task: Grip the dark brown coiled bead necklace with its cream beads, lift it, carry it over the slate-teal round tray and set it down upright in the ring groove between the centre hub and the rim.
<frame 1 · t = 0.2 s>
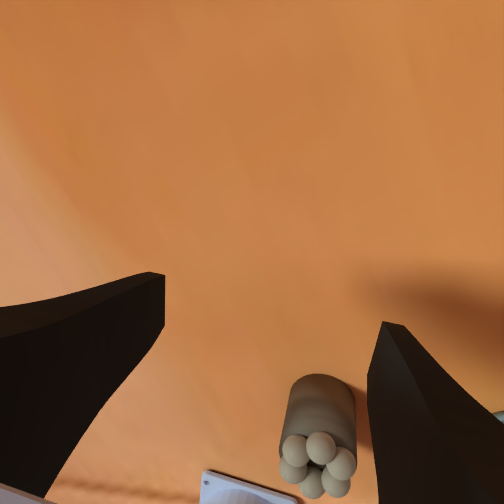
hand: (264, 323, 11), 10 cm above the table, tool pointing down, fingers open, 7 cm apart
bead necklace coil: (321, 400, 24), on the table
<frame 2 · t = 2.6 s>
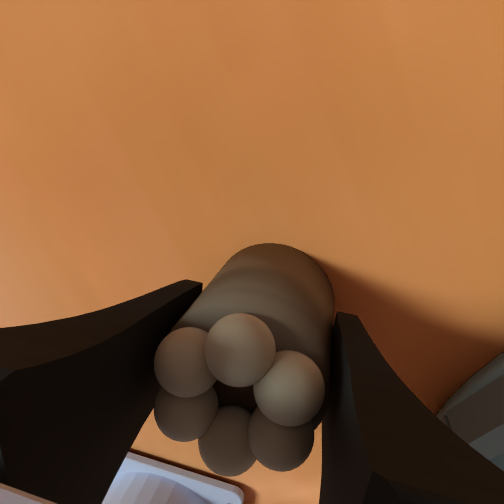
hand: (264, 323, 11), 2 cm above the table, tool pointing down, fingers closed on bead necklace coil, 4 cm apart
bead necklace coil: (273, 299, 13), on the table, touching gripper
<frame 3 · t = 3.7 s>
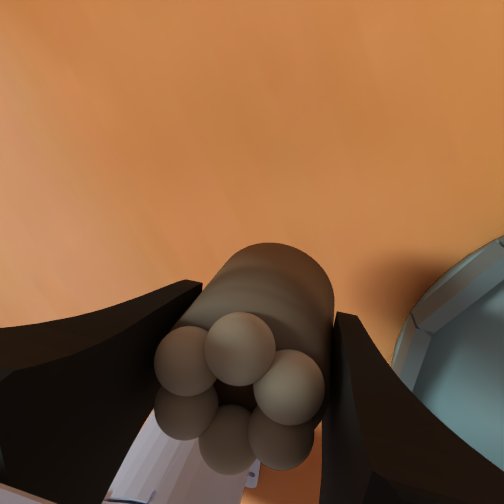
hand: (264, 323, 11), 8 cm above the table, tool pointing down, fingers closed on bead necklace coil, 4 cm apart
bead necklace coil: (273, 299, 13), point 7 cm above the table, touching gripper
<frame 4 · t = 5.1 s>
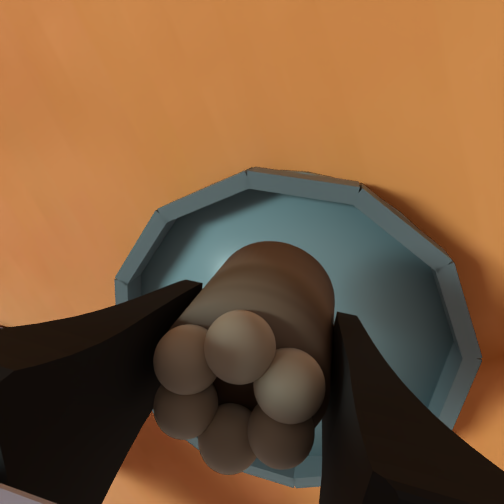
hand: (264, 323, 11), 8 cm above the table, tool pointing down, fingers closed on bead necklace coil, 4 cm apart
bead necklace coil: (273, 297, 13), point 7 cm above the table, touching gripper
round groove tray: (281, 332, 21), on the table
when the fingers open (4 cm above the table, at t = 6.7 s): bead necklace coil drops 1 cm, resting on round groove tray.
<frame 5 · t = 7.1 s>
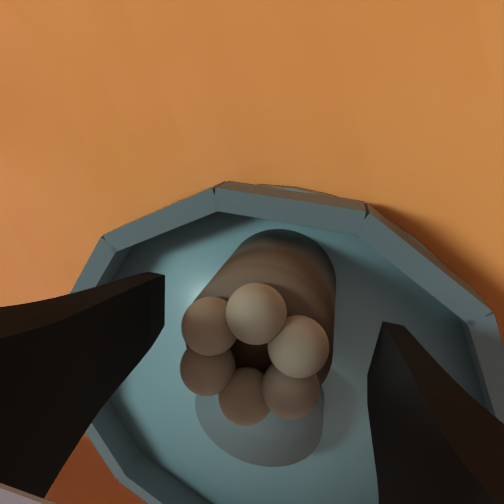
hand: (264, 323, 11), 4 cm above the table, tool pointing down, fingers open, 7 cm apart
bead necklace coil: (280, 281, 14), point 1 cm above the table, touching round groove tray
round groove tray: (266, 381, 17), on the table
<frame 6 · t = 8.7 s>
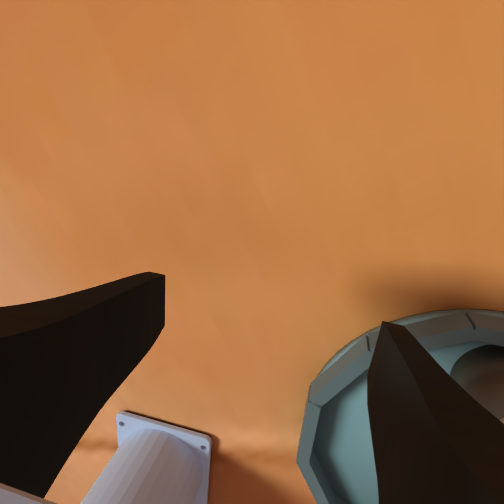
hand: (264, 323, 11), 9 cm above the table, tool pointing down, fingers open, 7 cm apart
bead necklace coil: (494, 378, 19), point 1 cm above the table, touching round groove tray
round groove tray: (457, 444, 22), on the table
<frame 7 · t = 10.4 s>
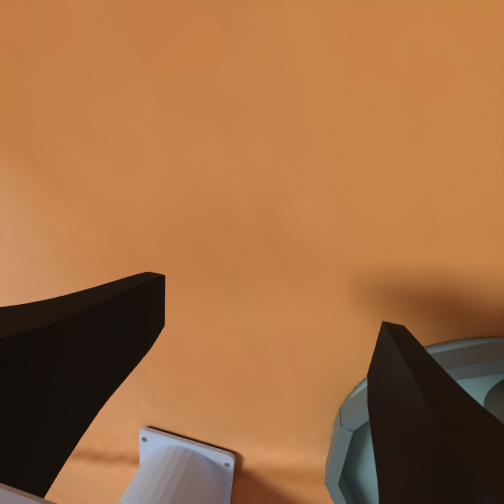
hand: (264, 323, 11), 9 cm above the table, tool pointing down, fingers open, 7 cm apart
round groove tray: (486, 467, 22), on the table
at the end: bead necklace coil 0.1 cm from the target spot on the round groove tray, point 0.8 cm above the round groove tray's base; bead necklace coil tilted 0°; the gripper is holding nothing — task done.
